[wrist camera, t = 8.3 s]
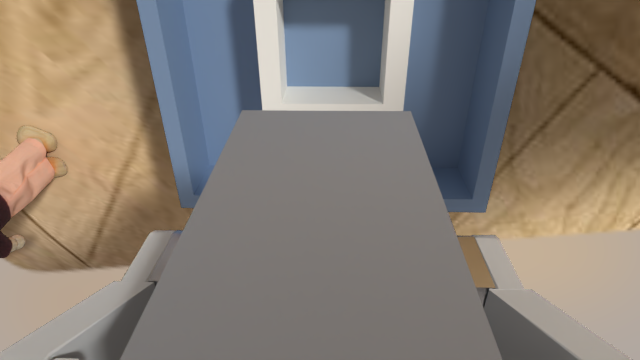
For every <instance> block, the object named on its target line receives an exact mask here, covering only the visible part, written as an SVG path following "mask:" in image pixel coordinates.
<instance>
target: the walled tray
mask: <svg viewBox="0 0 640 360" xmlns="http://www.w3.org/2000/svg"><path fill="white" fill-rule="evenodd" d="M136 1H137V6H138V11H139V15H140V20H141V24H142V29H143V34H144V38H145V43H146V47H147V52H148V57H149V61H150V66H151V71H152V75H153V80H154V84H155V89H156V94H157V98H158V103H159V107H160V112H161V117H162V121H163V126H164V130H165V135H166V140H167V144H168V149H169V153H170V158H171V163H172V167H173V172H174V176H175V181H176V186H177V190H178V195H179V199H180V204H181V208H194V207H195V205H196V203H197V201H198V199H199V197H200V195H201V193H202V191H203V189H204V187H205V185H206V183H207V181H208V179H209V177H210V175H211V173H212V171H213V169H214V167H215V165H216V162H217V160H218V158H219V156H220V154H221V152H222V150H223V148H224V146H225V144H226V142H227V140H228V138H229V136H230V134H231V132H232V130H233V128H234V126H235V124H236V122H237V120H238V118H239V116H240V114H241V111H242V110H286V111H411V113H412V116H413V119H414V121H415V124H416V127H417V129H418V132H419V135H420V138H421V140H422V143H423V146H424V148H425V151H426V154H427V156H428V159H429V162H430V165H431V167H432V170H433V173H434V175H435V178H436V181H437V184H438V186H439V189H440V192H441V194H442V197H443V200H444V203H445V205H446V208H447V211H448V212H486V208H487V204H488V200H489V196H490V191H491V187H492V183H493V179H494V175H495V171H496V166H497V162H498V158H499V154H500V150H501V145H502V141H503V137H504V133H505V129H506V125H507V120H508V116H509V112H510V108H511V104H512V100H513V95H514V91H515V87H516V83H517V79H518V74H519V70H520V66H521V62H522V58H523V54H524V49H525V45H526V41H527V37H528V33H529V28H530V24H531V20H532V16H533V12H534V8H535V3H536V0H136Z"/></svg>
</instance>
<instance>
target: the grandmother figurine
mask: <svg viewBox="0 0 640 360" xmlns="http://www.w3.org/2000/svg"><path fill="white" fill-rule="evenodd" d="M17 141H18V143H19V145H18V146H17V147H16V148H15V149H14V150H13V151H11V152H10V153H9V154H8V155H7V156H6V157H5V158H3V159H2V160H1V161H0V230H1V229H2V228H3V227H4V225H5V224H6V223H7V222H8V221H9V220H10V219H11V217H13V216H14V215H15V214H17V213H18V212H19V211H21V210H22V209H23V208H24V207H25V206H27V205H28V204H29V203H30V202H31V201H33V200H34V199H35V198H36V196H37V195H38V194H39V193H40V192H41V191H42V190H43V189H44V188H45V187H46V186H47V185H48V184H49V183H50V182H51V180H52V179H53V178H55V177H60V176H63V175H65V174H66V173H67V167H66V165H65V163H64V162H63V161H62V160H61V159H59V158H54V157H46V152H52V151H54V150H55V149H56V148H57V142H56V139H55V137H54V136H53V135H52V134H50V133H48V132H45V131H42V130H39V129H37V128H34V127H31V126H22V127H21V128H20V129H19V130H18V133H17ZM24 245H25V238H24V237H23V236H21V235H13V236H11V237H6V236H5V235H4V234H3V233H2V232H1V231H0V258H5V257H7V256H8V255H9V254H10V252H13V251H14V250H17V249H20V248H22V247H23V246H24Z"/></svg>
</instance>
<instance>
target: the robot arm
mask: <svg viewBox="0 0 640 360" xmlns="http://www.w3.org/2000/svg"><path fill="white" fill-rule="evenodd" d="M182 232H183V231H180V230H177V231H173V230H154V231H152V232H151V233H149V235H148V237H147V238H146V240H145V242H144V243H143V245H142V247H141V248H140V250H139V252H138V253H137V255H136V257H135V258H134V260H133V262H132V263H131V265H130V267H129V268H128V270H127V272H126V273H125V275H124V277H123V278H122V280H121V281H114V282H112V283H110V284H109V285H107V286H105V287H104V288H102V289H101V290H99V291H97V292H96V293H94V294H93V295H91V296H90V297H88V298H87V299H85V300H83V301H82V302H80V303H78V304H77V305H75V306H74V307H72V308H70V309H69V310H67V311H66V312H64V313H62V314H61V315H59V316H58V317H56V318H55V319H53V320H51V321H50V322H48V323H46V324H45V325H43V326H42V327H40V328H39V329H37V330H35V331H34V332H32V333H31V334H29V335H27V336H26V337H24V338H23V339H21V340H19V341H18V342H16V343H15V344H13V345H11V346H10V347H8V348H7V349H5V350H3V351H2V352H0V360H120V358H121V356H122V354H123V352H124V350H125V348H126V346H127V344H128V342H129V340H130V338H131V336H132V334H133V332H134V330H135V328H136V326H137V324H138V322H139V320H140V317H141V315H142V313H143V311H144V309H145V307H146V305H147V303H148V301H149V299H150V297H151V295H152V293H153V291H154V289H155V287H156V285H157V283H158V281H159V279H160V277H161V275H162V273H163V271H164V269H165V266H166V264H167V262H168V260H169V258H170V256H171V254H172V252H173V250H174V248H175V246H176V244H177V242H178V240H179V238H180V236H181V234H182ZM457 238H458V241H459V243H460V246H461V249H462V251H463V254H464V257H465V260H466V262H467V265H468V268H469V270H470V273H471V276H472V278H473V281H474V284H475V287H476V289H477V292H478V295H479V297H480V300H481V303H482V306H483V308H484V311H485V314H486V316H487V319H488V322H489V325H490V327H491V330H492V333H493V335H494V338H495V341H496V344H497V346H498V349H499V352H500V354H501V357H502V360H632V359H631V358H630V357H628V356H627V355H625V354H624V353H622V352H621V351H619V350H618V349H616V348H615V347H614V346H612V345H611V344H609V343H608V342H607V341H605V340H603V339H602V338H601V337H599V336H598V335H596V334H595V333H594V332H592V331H591V330H589V329H588V328H587V327H585V326H584V325H582V324H581V323H579V322H578V321H576V320H575V319H574V318H572V317H571V316H569V315H568V314H566V313H565V312H563V311H562V310H561V309H559V308H558V307H556V306H555V305H553V304H552V303H550V302H549V301H548V300H546V299H545V298H543V297H542V296H540V295H539V294H538V293H536V292H535V291H533V290H527V289H524V287H523V285H522V283H521V281H520V279H519V277H518V275H517V273H516V271H515V269H514V267H513V265H512V263H511V261H510V259H509V257H508V255H507V253H506V251H505V249H504V247H503V245H502V244H501V242H500V240H499V238H498V237H497V236H495V235H471V236H457Z"/></svg>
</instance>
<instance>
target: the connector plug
mask: <svg viewBox="0 0 640 360" xmlns="http://www.w3.org/2000/svg"><path fill="white" fill-rule="evenodd" d="M120 360H502V357H501V354H500V352H499V349H498V346H497V344H496V341H495V338H494V335H493V333H492V330H491V327H490V325H489V322H488V319H487V316H486V314H485V311H484V308H483V306H482V303H481V300H480V297H479V295H478V292H477V289H476V287H475V284H474V281H473V278H472V276H471V273H470V270H469V268H468V265H467V262H466V260H465V257H464V254H463V251H462V249H461V246H460V243H459V241H458V238H457V235H456V232H455V230H454V227H453V224H452V222H451V219H450V216H449V213H448V211H447V208H446V205H445V203H444V200H443V197H442V194H441V192H440V189H439V186H438V184H437V181H436V178H435V175H434V173H433V170H432V167H431V165H430V162H429V159H428V156H427V154H426V151H425V148H424V146H423V143H422V140H421V138H420V135H419V132H418V129H417V127H416V124H415V121H414V119H413V116H412V113H411V111H286V110H242V111H241V114H240V116H239V118H238V120H237V122H236V124H235V126H234V128H233V130H232V132H231V134H230V136H229V138H228V140H227V142H226V144H225V146H224V148H223V150H222V152H221V154H220V156H219V158H218V160H217V162H216V165H215V167H214V169H213V171H212V173H211V175H210V177H209V179H208V181H207V183H206V185H205V187H204V189H203V191H202V193H201V195H200V197H199V199H198V201H197V203H196V205H195V207H194V209H193V211H192V213H191V216H190V218H189V220H188V222H187V224H186V226H185V228H184V230H183V232H182V234H181V236H180V238H179V240H178V242H177V244H176V246H175V248H174V250H173V252H172V254H171V256H170V258H169V260H168V262H167V264H166V266H165V269H164V271H163V273H162V275H161V277H160V279H159V281H158V283H157V285H156V287H155V289H154V291H153V293H152V295H151V297H150V299H149V301H148V303H147V305H146V307H145V309H144V311H143V313H142V315H141V317H140V320H139V322H138V324H137V326H136V328H135V330H134V332H133V334H132V336H131V338H130V340H129V342H128V344H127V346H126V348H125V350H124V352H123V354H122V356H121V358H120Z"/></svg>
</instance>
